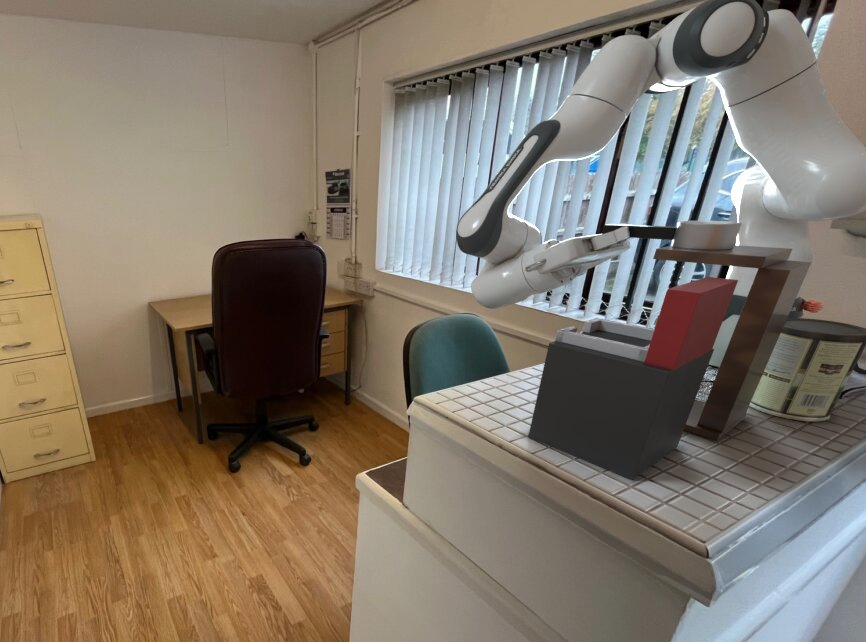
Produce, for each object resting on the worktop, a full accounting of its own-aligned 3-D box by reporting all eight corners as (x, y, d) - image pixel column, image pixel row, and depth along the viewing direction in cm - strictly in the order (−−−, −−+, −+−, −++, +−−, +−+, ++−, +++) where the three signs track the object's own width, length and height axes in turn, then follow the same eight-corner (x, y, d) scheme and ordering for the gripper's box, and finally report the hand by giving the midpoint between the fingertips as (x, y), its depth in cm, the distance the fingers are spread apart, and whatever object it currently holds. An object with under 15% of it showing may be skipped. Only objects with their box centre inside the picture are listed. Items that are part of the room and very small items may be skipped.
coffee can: (773, 392, 82) (809, 315, 76) (847, 418, 72) (894, 332, 67) (724, 398, 80) (757, 319, 74) (794, 425, 71) (837, 338, 65)
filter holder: (592, 242, 77) (597, 220, 75) (612, 239, 80) (617, 217, 79) (722, 251, 64) (732, 224, 62) (740, 247, 67) (749, 221, 66)
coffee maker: (527, 436, 70) (563, 277, 60) (575, 412, 77) (614, 265, 67) (632, 480, 59) (696, 294, 49) (676, 447, 66) (741, 279, 56)
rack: (608, 406, 78) (655, 248, 68) (640, 389, 84) (688, 242, 74) (717, 440, 67) (793, 258, 57) (744, 418, 73) (818, 250, 63)
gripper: (514, 254, 81) (596, 214, 69) (573, 245, 92) (654, 209, 79) (525, 288, 81) (609, 254, 69) (583, 274, 91) (666, 243, 79)
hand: (634, 229), depth 74 cm, fingers closed on filter holder, 2 cm apart
